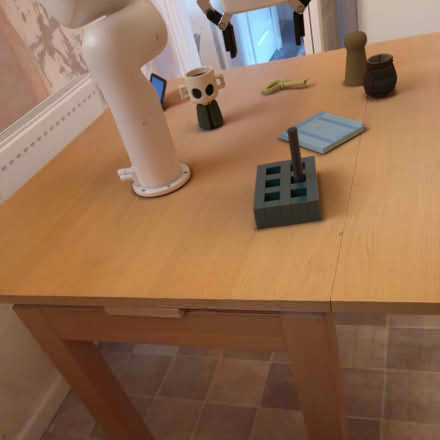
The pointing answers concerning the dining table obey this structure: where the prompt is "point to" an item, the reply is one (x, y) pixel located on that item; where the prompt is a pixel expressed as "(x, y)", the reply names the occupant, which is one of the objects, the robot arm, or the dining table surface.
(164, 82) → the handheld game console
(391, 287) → the dining table surface
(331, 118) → the light blue flat board
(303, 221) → the pen stand
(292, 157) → the stylus
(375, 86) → the mate gourd
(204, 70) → the character mug
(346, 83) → the cork
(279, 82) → the key
